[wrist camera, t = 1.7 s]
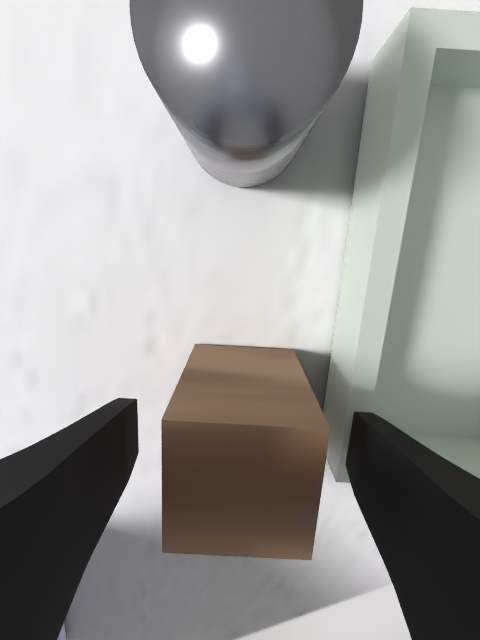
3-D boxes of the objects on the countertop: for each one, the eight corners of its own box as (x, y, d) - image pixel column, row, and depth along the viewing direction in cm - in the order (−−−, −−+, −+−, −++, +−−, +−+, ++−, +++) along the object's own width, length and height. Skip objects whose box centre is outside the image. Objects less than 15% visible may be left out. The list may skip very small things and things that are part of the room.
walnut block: (284, 436, 14) (311, 560, 9) (193, 431, 14) (162, 552, 8) (293, 349, 13) (330, 429, 8) (195, 344, 13) (161, 419, 7)
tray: (502, 448, 14) (557, 493, 11) (319, 438, 14) (335, 481, 11) (616, 77, 10) (730, 28, 8) (371, 61, 10) (410, 7, 8)
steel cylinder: (297, 190, 11) (345, 148, 6) (184, 183, 11) (132, 135, 6) (309, 58, 10) (381, -135, 5) (186, 50, 10) (125, -152, 5)
